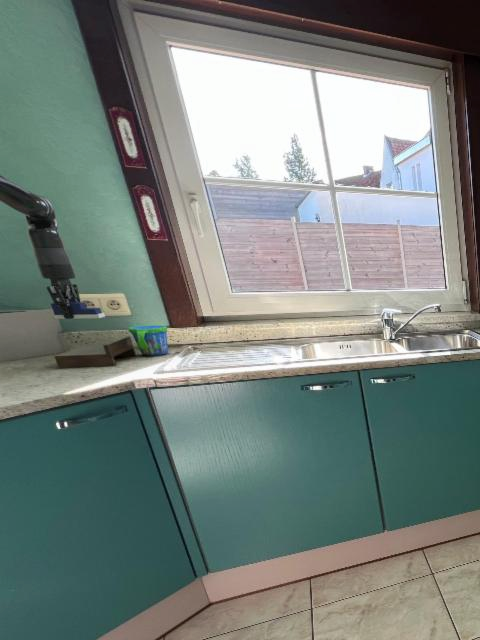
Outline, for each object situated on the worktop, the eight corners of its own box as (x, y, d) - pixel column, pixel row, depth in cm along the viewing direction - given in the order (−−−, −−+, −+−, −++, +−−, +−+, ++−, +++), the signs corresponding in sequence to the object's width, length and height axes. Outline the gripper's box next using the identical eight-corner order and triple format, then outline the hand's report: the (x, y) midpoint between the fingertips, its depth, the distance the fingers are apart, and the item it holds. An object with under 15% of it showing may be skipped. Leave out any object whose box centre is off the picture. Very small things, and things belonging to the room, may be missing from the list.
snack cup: (161, 358, 179) (152, 329, 175) (126, 358, 176) (117, 330, 173) (182, 350, 193) (175, 324, 189) (151, 351, 190) (142, 324, 187)
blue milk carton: (55, 318, 159) (49, 303, 157) (61, 317, 163) (56, 302, 161) (99, 318, 164) (94, 303, 162) (105, 316, 168) (100, 302, 166)
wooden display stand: (58, 368, 160) (50, 346, 157) (86, 357, 177) (79, 337, 174) (114, 365, 166) (107, 345, 163) (136, 355, 182) (130, 336, 180)
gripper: (49, 262, 161) (68, 315, 167) (25, 263, 149) (46, 320, 155) (80, 262, 164) (97, 315, 170) (58, 263, 152) (78, 319, 158)
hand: (73, 317), depth 163 cm, fingers closed on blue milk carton, 4 cm apart
